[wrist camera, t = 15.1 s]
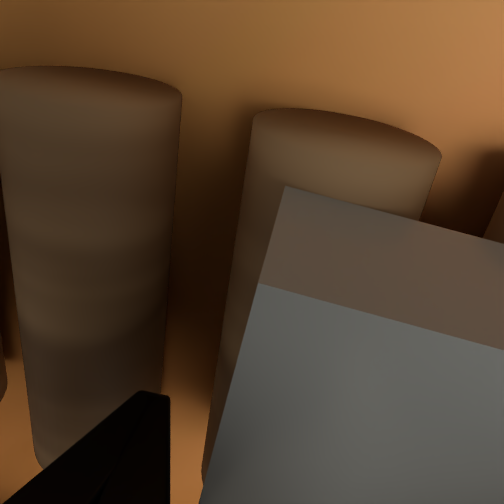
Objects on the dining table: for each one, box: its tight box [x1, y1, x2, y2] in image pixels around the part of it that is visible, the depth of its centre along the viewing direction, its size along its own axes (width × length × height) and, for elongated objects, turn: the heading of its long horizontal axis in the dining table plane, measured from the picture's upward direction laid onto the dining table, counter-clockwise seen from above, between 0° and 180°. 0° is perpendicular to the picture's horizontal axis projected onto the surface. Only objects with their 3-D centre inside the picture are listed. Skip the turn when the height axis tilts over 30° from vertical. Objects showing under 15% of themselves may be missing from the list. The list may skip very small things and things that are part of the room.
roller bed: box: [0, 66, 504, 485], centre depth 11 cm, size 10×28×4 cm, turn 82°
